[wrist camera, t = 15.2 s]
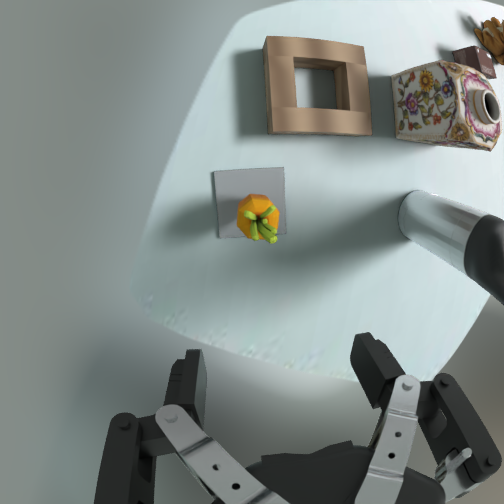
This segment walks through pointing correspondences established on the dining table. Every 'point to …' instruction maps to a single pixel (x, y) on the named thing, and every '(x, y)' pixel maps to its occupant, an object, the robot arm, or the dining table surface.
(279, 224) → the rubber mat
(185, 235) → the dining table surface
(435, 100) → the decorative jar
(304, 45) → the socket block
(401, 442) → the robot arm
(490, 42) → the stuffed squirrel
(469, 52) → the box
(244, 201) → the carrot
